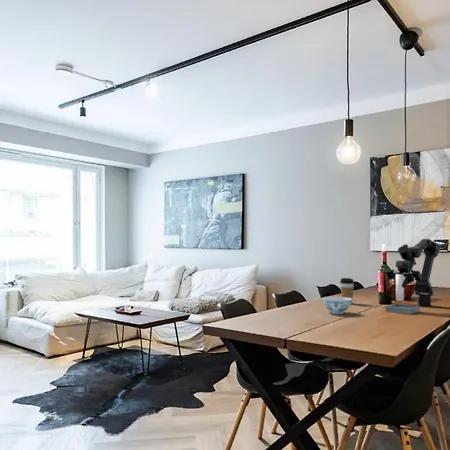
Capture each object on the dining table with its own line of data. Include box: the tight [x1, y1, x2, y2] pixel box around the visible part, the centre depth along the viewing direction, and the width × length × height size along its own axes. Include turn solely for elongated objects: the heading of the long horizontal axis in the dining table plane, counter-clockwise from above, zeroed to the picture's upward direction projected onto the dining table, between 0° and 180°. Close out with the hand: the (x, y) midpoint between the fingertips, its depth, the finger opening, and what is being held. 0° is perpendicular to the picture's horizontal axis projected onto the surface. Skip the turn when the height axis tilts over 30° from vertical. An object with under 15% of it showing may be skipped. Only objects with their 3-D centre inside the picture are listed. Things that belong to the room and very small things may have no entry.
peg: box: [395, 274, 405, 302], centre depth 244 cm, size 4×4×14 cm
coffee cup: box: [339, 277, 355, 305], centre depth 273 cm, size 8×8×15 cm
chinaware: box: [322, 296, 353, 315], centre depth 238 cm, size 15×15×8 cm
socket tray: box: [385, 303, 420, 315], centre depth 243 cm, size 13×13×3 cm
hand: (398, 286), depth 243 cm, fingers closed on peg, 4 cm apart
